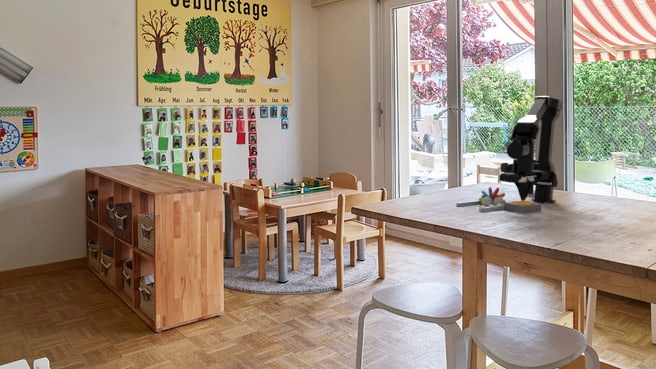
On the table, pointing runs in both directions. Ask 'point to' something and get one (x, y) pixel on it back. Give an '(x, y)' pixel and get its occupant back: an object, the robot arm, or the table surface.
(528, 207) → the dome housing
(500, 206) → the rail
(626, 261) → the table surface
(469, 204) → the rail
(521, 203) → the dome
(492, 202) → the multicoloured petal shapes
